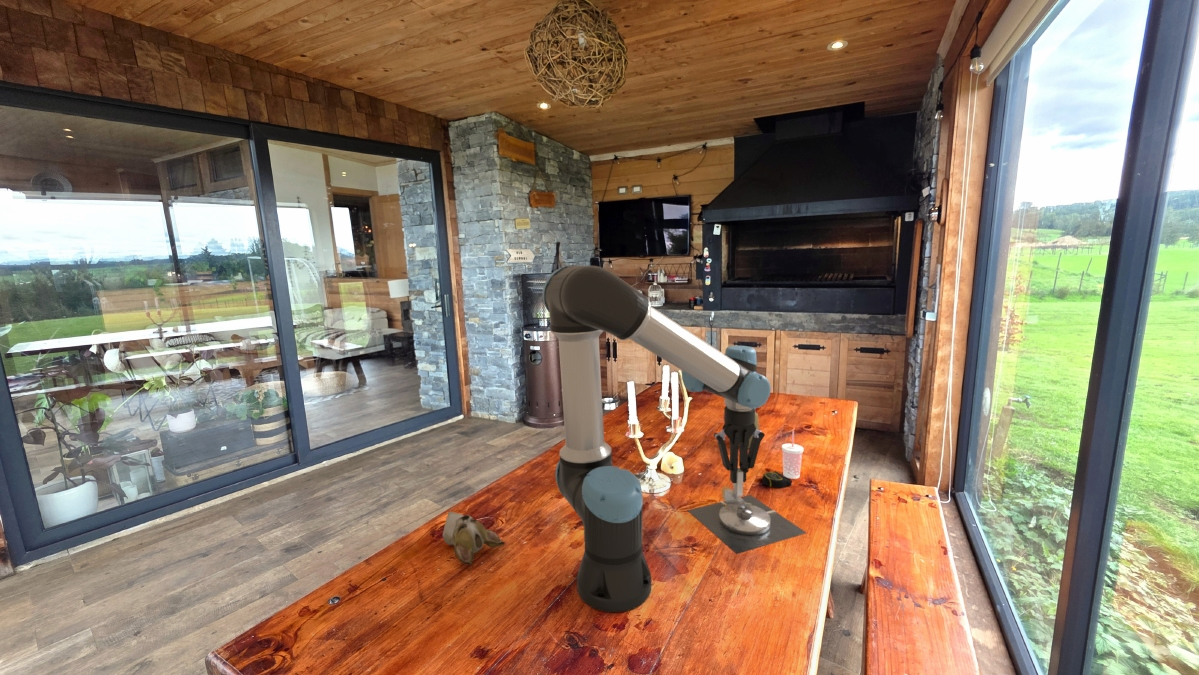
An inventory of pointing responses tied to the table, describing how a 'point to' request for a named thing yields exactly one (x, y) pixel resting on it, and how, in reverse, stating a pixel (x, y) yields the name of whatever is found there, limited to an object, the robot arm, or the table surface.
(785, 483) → the tape measure
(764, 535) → the plate
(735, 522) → the dial
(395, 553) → the table surface
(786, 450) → the beverage cup
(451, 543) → the ceramic sculpture
